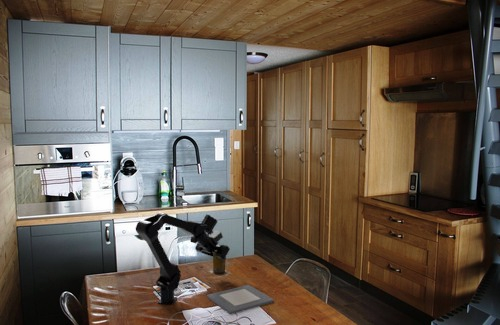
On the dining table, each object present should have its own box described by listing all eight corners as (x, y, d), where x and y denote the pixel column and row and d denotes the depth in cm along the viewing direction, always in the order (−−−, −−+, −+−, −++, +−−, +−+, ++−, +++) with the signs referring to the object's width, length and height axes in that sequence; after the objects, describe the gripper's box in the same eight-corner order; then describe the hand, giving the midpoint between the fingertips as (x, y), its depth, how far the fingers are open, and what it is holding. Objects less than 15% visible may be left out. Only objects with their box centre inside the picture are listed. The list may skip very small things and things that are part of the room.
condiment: (220, 268, 207) (221, 245, 206) (231, 273, 200) (231, 249, 199) (208, 271, 202) (208, 247, 201) (218, 276, 196) (218, 251, 195)
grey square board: (230, 314, 167) (230, 311, 167) (206, 297, 184) (206, 294, 184) (273, 301, 179) (273, 299, 179) (248, 286, 196) (248, 284, 196)
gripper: (227, 229, 191) (243, 248, 200) (199, 222, 203) (216, 240, 212) (214, 249, 185) (231, 268, 195) (187, 241, 198) (204, 259, 207)
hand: (220, 258), depth 202 cm, fingers closed on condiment, 6 cm apart
